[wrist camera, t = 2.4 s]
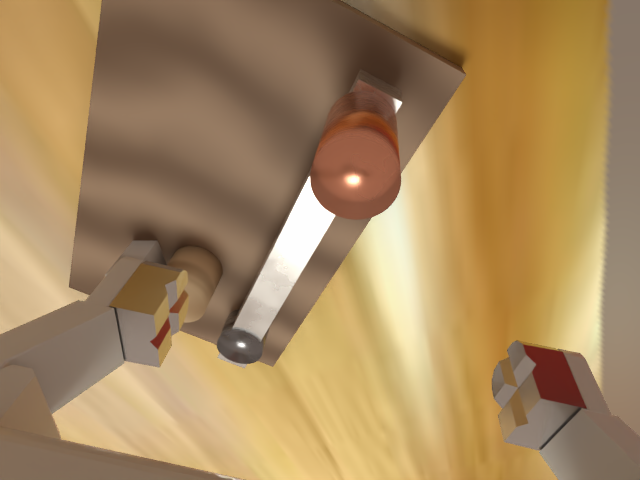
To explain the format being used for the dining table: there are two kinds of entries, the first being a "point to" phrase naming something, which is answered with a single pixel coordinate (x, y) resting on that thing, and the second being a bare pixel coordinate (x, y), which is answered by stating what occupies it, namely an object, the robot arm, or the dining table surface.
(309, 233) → the lever
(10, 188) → the dining table surface
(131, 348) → the robot arm
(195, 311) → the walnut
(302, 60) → the nutcracker base
